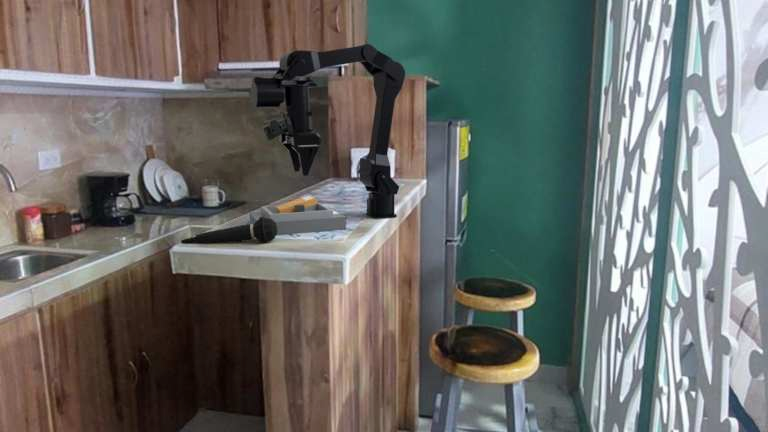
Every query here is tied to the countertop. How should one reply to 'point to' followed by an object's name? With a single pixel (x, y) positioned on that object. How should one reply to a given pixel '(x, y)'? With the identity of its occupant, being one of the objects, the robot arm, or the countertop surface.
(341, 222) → the switch panel
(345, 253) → the countertop surface
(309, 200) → the plate
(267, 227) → the microphone
